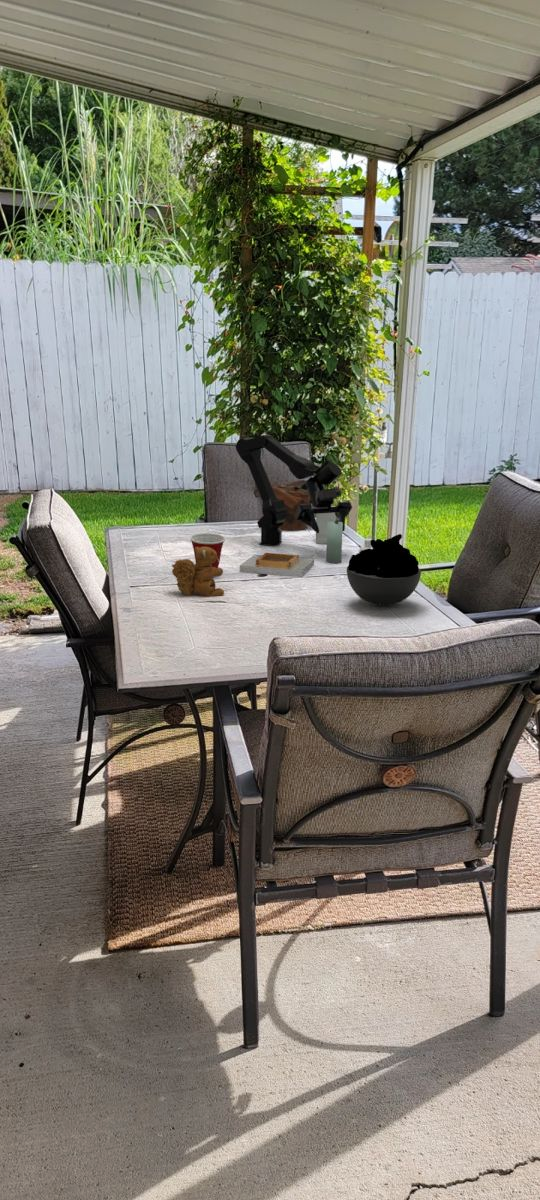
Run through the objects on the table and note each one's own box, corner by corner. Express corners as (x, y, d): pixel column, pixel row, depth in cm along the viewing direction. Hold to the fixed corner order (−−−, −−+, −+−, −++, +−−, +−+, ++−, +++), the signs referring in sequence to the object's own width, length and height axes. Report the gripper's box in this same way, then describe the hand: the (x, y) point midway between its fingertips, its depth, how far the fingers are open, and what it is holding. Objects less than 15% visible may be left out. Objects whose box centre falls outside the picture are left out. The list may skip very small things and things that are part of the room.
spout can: (323, 560, 286) (324, 515, 282) (337, 559, 288) (338, 515, 284) (330, 563, 282) (331, 518, 278) (343, 562, 284) (345, 517, 280)
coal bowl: (368, 618, 225) (371, 547, 220) (332, 598, 242) (334, 532, 237) (433, 610, 233) (438, 542, 227) (394, 592, 250) (397, 527, 245)
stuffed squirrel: (227, 595, 244) (227, 550, 241) (177, 599, 240) (177, 553, 236) (217, 586, 253) (217, 542, 250) (169, 590, 249) (168, 545, 245)
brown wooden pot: (262, 531, 331) (263, 484, 326) (270, 521, 350) (272, 477, 345) (308, 534, 328) (311, 487, 323) (314, 524, 347) (317, 479, 342)
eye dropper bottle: (369, 570, 275) (370, 532, 272) (377, 574, 270) (379, 536, 267) (356, 571, 273) (358, 533, 270) (365, 575, 268) (366, 537, 265)
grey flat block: (239, 571, 270) (239, 560, 269) (254, 560, 285) (254, 550, 284) (301, 577, 265) (302, 565, 264) (313, 565, 280) (314, 554, 279)
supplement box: (336, 544, 311) (337, 509, 307) (315, 544, 311) (317, 509, 307) (335, 540, 318) (336, 505, 314) (315, 539, 318) (316, 505, 314)
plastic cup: (195, 580, 259) (194, 541, 256) (186, 572, 269) (185, 534, 266) (229, 577, 263) (230, 539, 260) (219, 569, 273) (219, 532, 269)
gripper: (299, 479, 282) (313, 519, 275) (350, 477, 289) (365, 515, 282) (289, 500, 291) (302, 538, 284) (339, 497, 298) (353, 535, 291)
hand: (331, 531), depth 285 cm, fingers open, 9 cm apart
